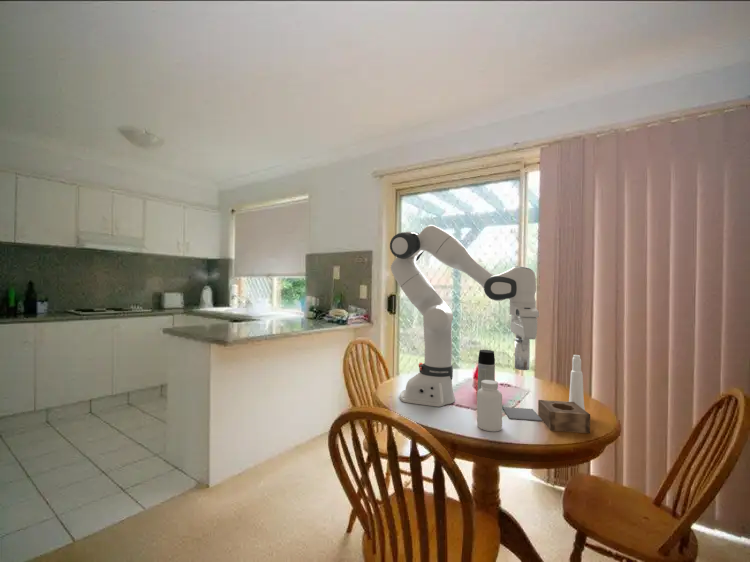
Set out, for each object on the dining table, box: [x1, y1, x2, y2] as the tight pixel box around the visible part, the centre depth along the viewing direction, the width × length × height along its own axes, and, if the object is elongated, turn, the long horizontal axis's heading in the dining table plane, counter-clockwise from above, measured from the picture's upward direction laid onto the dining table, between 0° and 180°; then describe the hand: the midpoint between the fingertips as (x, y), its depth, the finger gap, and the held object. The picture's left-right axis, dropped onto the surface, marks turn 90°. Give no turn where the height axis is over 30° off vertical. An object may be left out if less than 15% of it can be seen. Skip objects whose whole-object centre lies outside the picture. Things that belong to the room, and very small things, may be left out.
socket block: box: [537, 399, 591, 434], centre depth 116 cm, size 12×12×6 cm
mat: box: [502, 406, 543, 422], centre depth 124 cm, size 11×11×1 cm
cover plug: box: [514, 337, 531, 371], centre depth 125 cm, size 5×5×11 cm
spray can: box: [477, 349, 496, 391], centre depth 141 cm, size 7×7×20 cm
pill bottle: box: [476, 380, 503, 432], centre depth 113 cm, size 8×8×15 cm
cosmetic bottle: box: [568, 354, 586, 411], centre depth 125 cm, size 6×6×22 cm
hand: (522, 347), depth 125 cm, fingers closed on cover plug, 5 cm apart
